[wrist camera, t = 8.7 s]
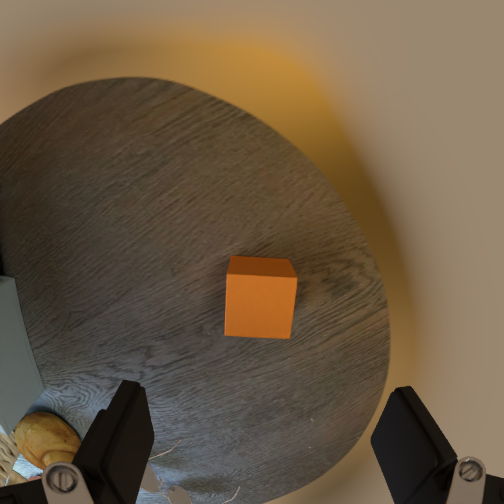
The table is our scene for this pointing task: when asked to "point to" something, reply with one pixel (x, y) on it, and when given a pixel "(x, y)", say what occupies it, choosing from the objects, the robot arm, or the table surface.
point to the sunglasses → (176, 494)
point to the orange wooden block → (260, 297)
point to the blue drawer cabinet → (15, 361)
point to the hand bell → (15, 478)
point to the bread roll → (45, 439)
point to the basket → (7, 455)
